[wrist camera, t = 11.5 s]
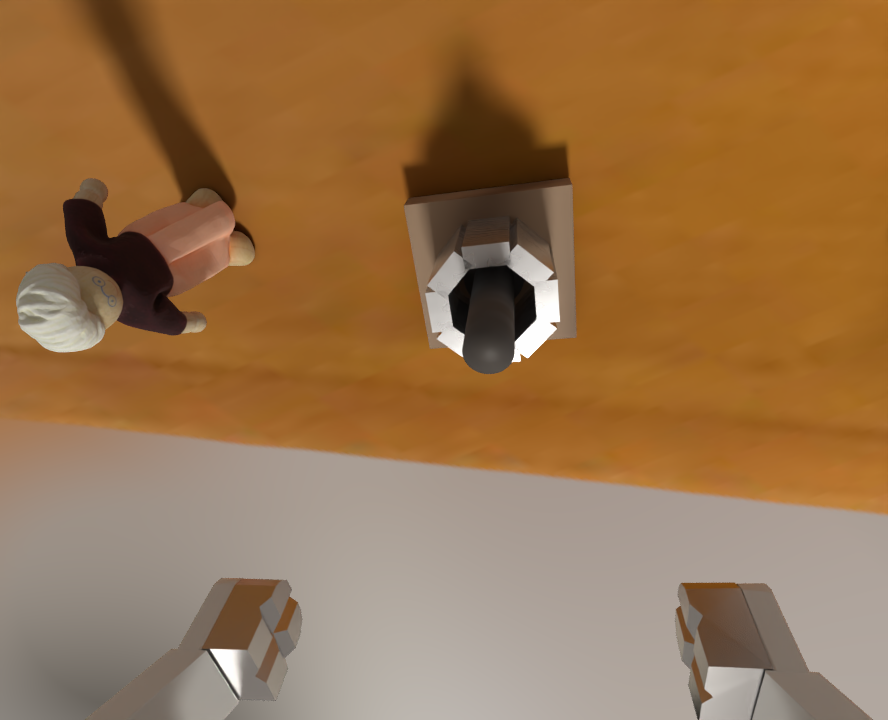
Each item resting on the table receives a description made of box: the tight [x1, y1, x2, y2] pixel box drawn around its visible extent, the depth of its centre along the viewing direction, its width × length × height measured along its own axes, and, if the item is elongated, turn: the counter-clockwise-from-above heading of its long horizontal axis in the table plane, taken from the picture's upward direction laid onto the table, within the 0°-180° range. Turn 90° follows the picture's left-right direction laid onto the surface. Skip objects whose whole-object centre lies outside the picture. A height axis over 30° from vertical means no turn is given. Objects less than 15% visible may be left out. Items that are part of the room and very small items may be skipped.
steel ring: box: [425, 216, 560, 362], centre depth 25 cm, size 6×6×4 cm
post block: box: [404, 178, 576, 374], centre depth 24 cm, size 8×8×10 cm
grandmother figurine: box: [16, 178, 255, 352], centre depth 24 cm, size 8×4×13 cm, turn 37°
